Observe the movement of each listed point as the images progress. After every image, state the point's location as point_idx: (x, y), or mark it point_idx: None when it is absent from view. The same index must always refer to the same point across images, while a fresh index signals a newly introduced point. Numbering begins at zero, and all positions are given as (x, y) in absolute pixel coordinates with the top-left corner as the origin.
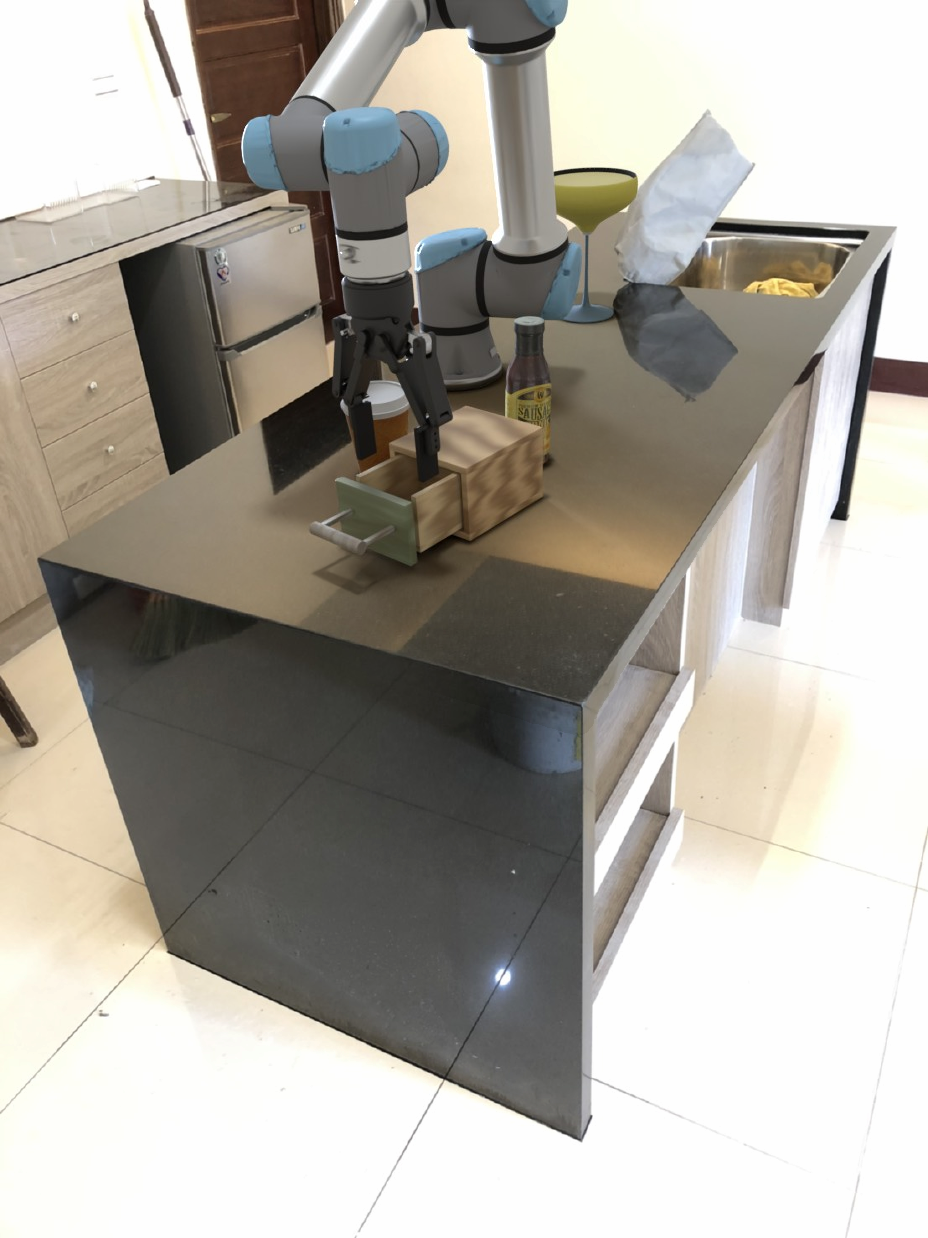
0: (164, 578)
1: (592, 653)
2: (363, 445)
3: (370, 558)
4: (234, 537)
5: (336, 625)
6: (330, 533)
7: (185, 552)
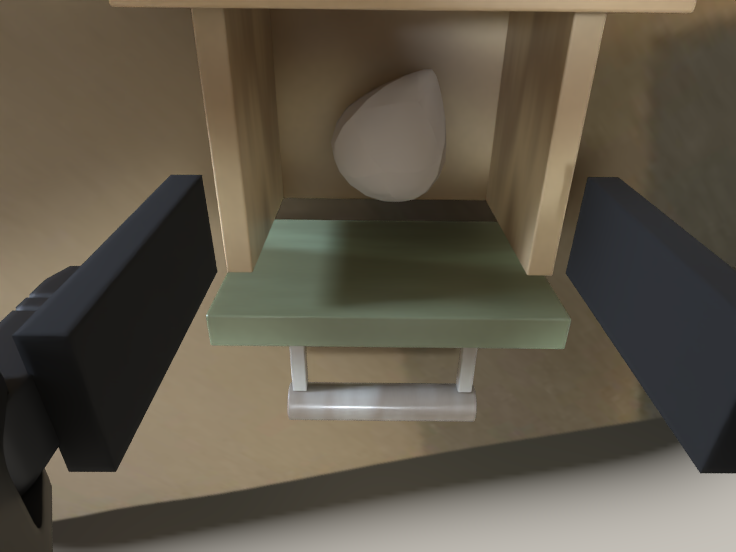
0: (106, 490)
1: None
2: (195, 283)
3: None
4: None
5: (488, 431)
6: (368, 419)
7: None
